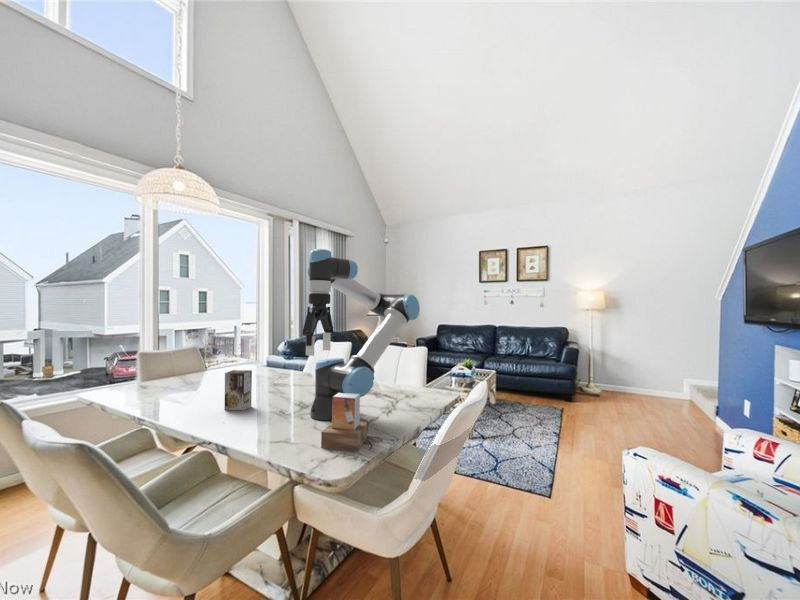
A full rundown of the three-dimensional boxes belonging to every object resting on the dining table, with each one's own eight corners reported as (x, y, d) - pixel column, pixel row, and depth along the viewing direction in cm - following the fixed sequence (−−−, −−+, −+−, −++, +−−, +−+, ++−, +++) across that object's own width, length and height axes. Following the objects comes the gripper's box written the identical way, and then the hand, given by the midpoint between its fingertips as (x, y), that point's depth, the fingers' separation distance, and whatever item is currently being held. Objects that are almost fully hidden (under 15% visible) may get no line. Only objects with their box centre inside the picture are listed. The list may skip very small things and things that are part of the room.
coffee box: (251, 406, 144) (252, 370, 144) (243, 411, 138) (244, 373, 138) (232, 405, 145) (233, 369, 145) (223, 410, 139) (224, 372, 139)
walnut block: (335, 433, 115) (335, 419, 115) (367, 436, 113) (368, 421, 113) (321, 447, 103) (321, 431, 103) (357, 451, 101) (357, 435, 101)
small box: (331, 428, 106) (331, 396, 106) (337, 422, 112) (338, 392, 112) (354, 430, 105) (355, 398, 105) (359, 424, 110) (360, 393, 111)
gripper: (324, 294, 128) (323, 347, 128) (292, 291, 104) (290, 357, 103) (342, 294, 127) (341, 348, 126) (314, 291, 102) (312, 358, 102)
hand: (318, 352), depth 115 cm, fingers open, 13 cm apart
